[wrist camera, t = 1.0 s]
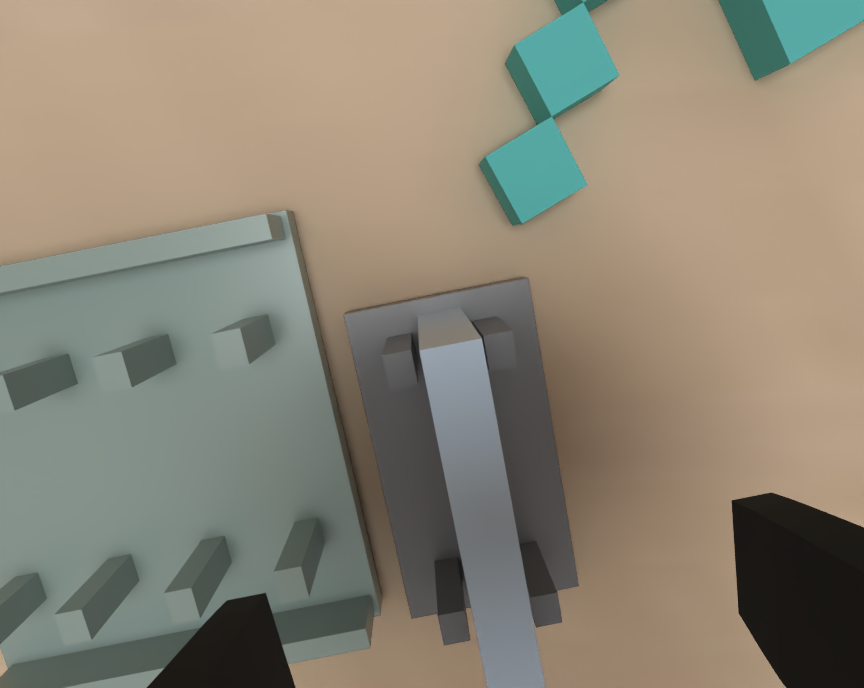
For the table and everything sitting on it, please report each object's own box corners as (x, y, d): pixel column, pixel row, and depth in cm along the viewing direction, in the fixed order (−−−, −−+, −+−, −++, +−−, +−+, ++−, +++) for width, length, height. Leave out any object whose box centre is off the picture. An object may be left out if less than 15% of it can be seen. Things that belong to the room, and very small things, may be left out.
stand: (572, 573, 21) (606, 643, 18) (411, 605, 21) (411, 682, 18) (523, 276, 19) (549, 285, 16) (346, 311, 19) (330, 328, 16)
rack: (382, 597, 21) (375, 678, 17) (33, 666, 21) (-53, 762, 17) (292, 211, 19) (260, 203, 15) (-103, 289, 19) (-238, 302, 15)
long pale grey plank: (512, 585, 21) (552, 725, 15) (473, 593, 21) (497, 736, 15) (460, 307, 19) (482, 338, 13) (417, 315, 19) (419, 350, 13)
